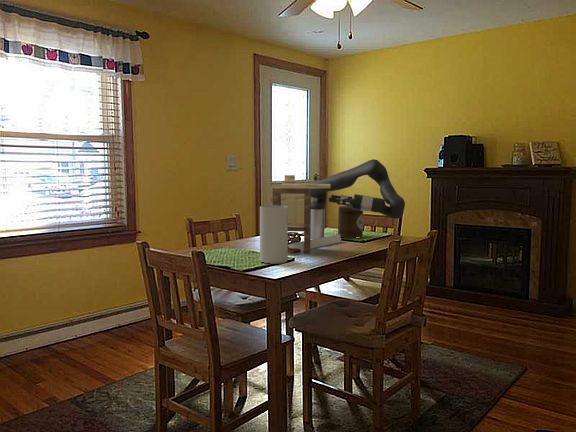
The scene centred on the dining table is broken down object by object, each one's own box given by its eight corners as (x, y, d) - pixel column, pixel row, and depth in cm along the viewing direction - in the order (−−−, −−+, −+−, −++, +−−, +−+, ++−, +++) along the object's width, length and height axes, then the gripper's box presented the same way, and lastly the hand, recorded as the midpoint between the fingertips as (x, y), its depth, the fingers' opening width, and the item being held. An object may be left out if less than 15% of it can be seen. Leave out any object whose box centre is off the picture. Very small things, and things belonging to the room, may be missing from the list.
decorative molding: (289, 253, 270) (304, 250, 263) (287, 244, 270) (302, 241, 264) (327, 245, 296) (341, 242, 289) (326, 237, 296) (339, 234, 289)
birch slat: (282, 187, 258) (282, 183, 257) (330, 188, 256) (330, 183, 255) (281, 188, 253) (281, 184, 253) (330, 188, 251) (330, 184, 251)
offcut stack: (283, 186, 265) (283, 175, 264) (295, 186, 264) (295, 175, 264) (282, 187, 260) (282, 175, 260) (294, 187, 260) (294, 175, 259)
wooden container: (364, 238, 301) (365, 201, 298) (338, 238, 301) (339, 201, 299) (361, 235, 316) (361, 199, 313) (336, 235, 316) (337, 199, 313)
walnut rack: (276, 247, 270) (276, 186, 267) (310, 248, 269) (310, 186, 265) (272, 253, 254) (272, 188, 251) (309, 253, 253) (309, 188, 249)
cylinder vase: (269, 257, 242) (269, 204, 239) (292, 260, 235) (292, 206, 233) (254, 262, 231) (254, 207, 228) (278, 265, 225) (278, 208, 222)
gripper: (364, 193, 257) (332, 188, 260) (362, 197, 243) (329, 192, 246) (362, 208, 258) (330, 203, 261) (360, 213, 245) (327, 207, 248)
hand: (330, 198), depth 254 cm, fingers open, 8 cm apart
